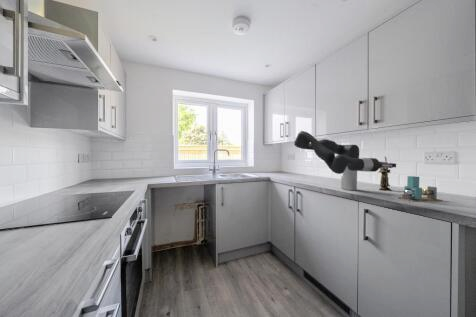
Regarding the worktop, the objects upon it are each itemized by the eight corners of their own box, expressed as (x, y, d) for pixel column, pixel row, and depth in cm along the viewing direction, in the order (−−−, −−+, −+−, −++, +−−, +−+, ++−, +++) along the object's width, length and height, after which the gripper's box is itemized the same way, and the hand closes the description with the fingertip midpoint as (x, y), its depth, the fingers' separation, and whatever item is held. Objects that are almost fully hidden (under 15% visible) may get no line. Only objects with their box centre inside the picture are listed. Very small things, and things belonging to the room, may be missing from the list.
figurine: (376, 189, 143) (377, 156, 143) (384, 188, 147) (385, 156, 147) (385, 191, 138) (386, 156, 137) (394, 190, 141) (395, 156, 141)
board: (411, 201, 106) (411, 200, 106) (397, 198, 114) (397, 197, 114) (442, 201, 108) (442, 199, 108) (426, 197, 116) (426, 196, 116)
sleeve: (415, 199, 107) (416, 177, 107) (404, 196, 113) (404, 175, 113) (421, 199, 107) (422, 177, 107) (410, 196, 114) (410, 175, 114)
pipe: (409, 199, 108) (409, 187, 108) (402, 198, 112) (402, 186, 112) (436, 199, 110) (437, 187, 110) (429, 197, 114) (429, 186, 114)
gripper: (358, 170, 113) (384, 171, 115) (376, 172, 100) (406, 173, 102) (358, 157, 113) (384, 158, 115) (377, 158, 100) (406, 159, 102)
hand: (394, 165), depth 108 cm, fingers closed
